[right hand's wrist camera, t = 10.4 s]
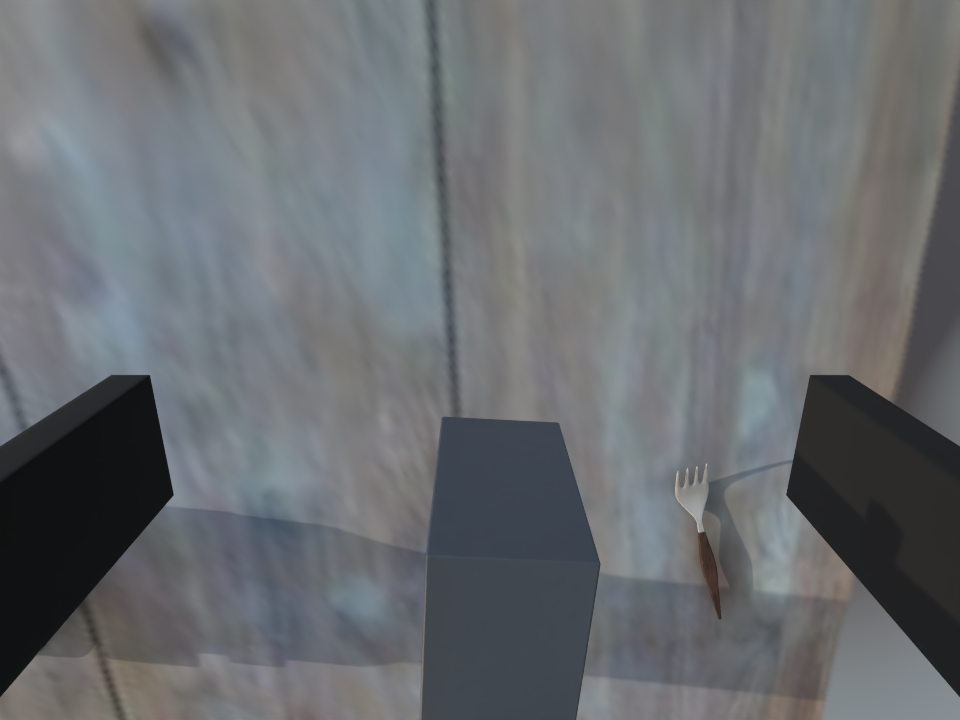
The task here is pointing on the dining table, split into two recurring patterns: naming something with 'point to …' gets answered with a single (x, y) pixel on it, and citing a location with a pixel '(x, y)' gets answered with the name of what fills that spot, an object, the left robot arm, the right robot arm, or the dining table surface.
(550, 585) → the box
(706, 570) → the fork
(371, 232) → the dining table surface
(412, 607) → the dining table surface
